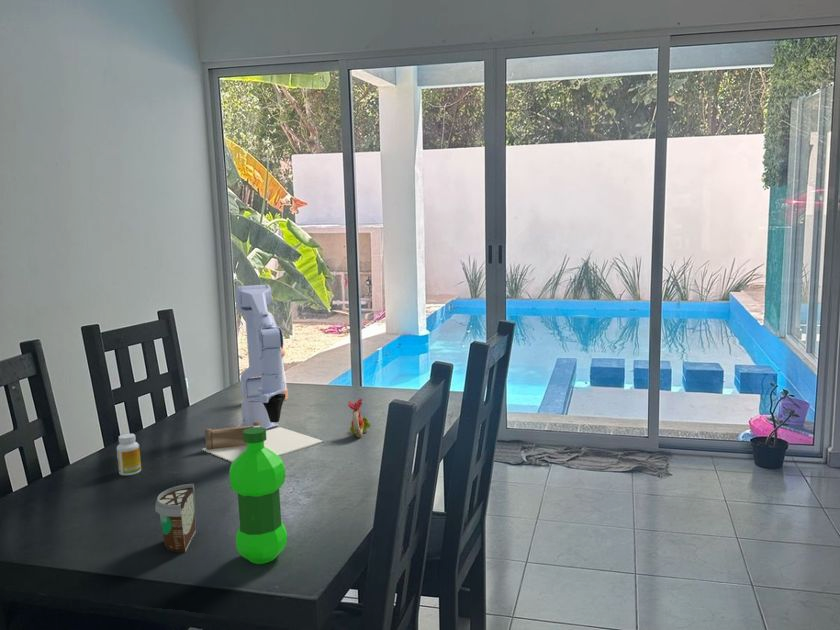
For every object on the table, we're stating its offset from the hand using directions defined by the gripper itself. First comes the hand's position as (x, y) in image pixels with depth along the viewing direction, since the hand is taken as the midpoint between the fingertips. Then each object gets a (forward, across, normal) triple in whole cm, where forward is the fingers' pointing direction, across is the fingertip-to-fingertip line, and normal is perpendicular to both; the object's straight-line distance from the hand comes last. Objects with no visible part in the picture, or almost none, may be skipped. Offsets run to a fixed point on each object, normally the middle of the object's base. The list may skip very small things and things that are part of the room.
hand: (274, 421), depth 198 cm
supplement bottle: (+9, +17, -33) cm, 38 cm away
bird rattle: (+9, -16, +20) cm, 27 cm away
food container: (+9, +54, -2) cm, 55 cm away
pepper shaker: (+9, -55, -19) cm, 59 cm away
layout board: (+9, -5, -6) cm, 11 cm away
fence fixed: (+8, -4, -14) cm, 16 cm away
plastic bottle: (+9, +59, +18) cm, 62 cm away
